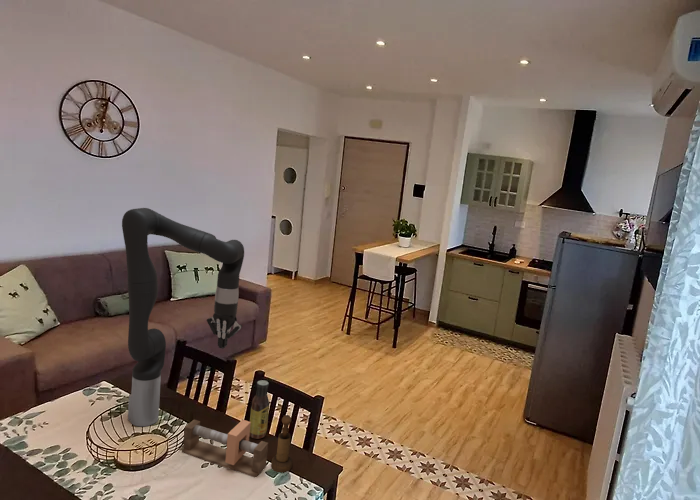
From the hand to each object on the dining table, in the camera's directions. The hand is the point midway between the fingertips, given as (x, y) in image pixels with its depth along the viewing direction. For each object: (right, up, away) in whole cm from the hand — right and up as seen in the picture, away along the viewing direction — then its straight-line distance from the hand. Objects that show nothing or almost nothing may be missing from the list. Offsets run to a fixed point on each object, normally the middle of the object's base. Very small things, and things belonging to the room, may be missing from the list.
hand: (222, 347), depth 164 cm
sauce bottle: (+11, -32, +7) cm, 35 cm away
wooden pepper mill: (+21, -37, -9) cm, 44 cm away
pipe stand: (+3, -34, -9) cm, 35 cm away
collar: (+7, -33, -10) cm, 35 cm away
